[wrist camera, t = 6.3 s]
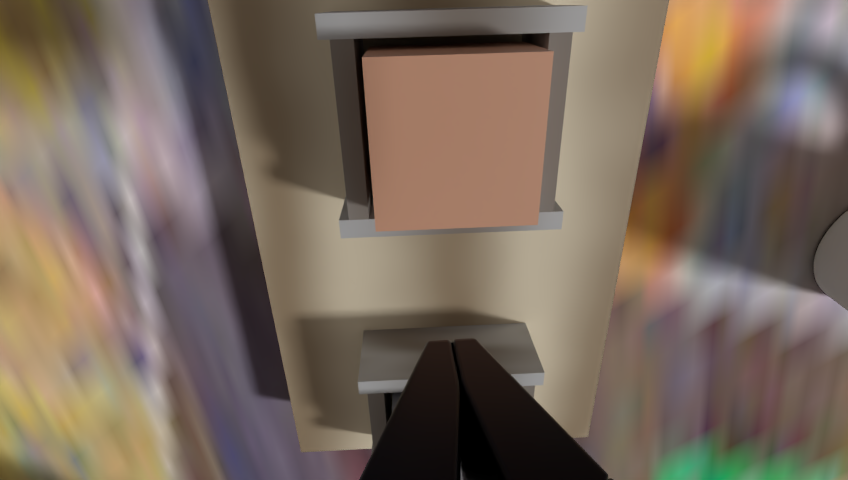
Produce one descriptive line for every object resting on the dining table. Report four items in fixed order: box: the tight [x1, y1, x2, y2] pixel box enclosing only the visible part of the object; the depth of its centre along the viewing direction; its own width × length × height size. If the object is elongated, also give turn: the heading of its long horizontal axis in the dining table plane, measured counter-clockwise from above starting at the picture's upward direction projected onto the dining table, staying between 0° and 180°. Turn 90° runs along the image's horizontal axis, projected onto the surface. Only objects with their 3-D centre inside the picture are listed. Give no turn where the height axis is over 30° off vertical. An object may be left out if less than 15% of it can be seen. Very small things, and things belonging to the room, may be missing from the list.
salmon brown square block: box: [362, 42, 554, 232], centre depth 13 cm, size 4×4×3 cm
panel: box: [208, 0, 669, 453], centre depth 19 cm, size 14×20×6 cm
